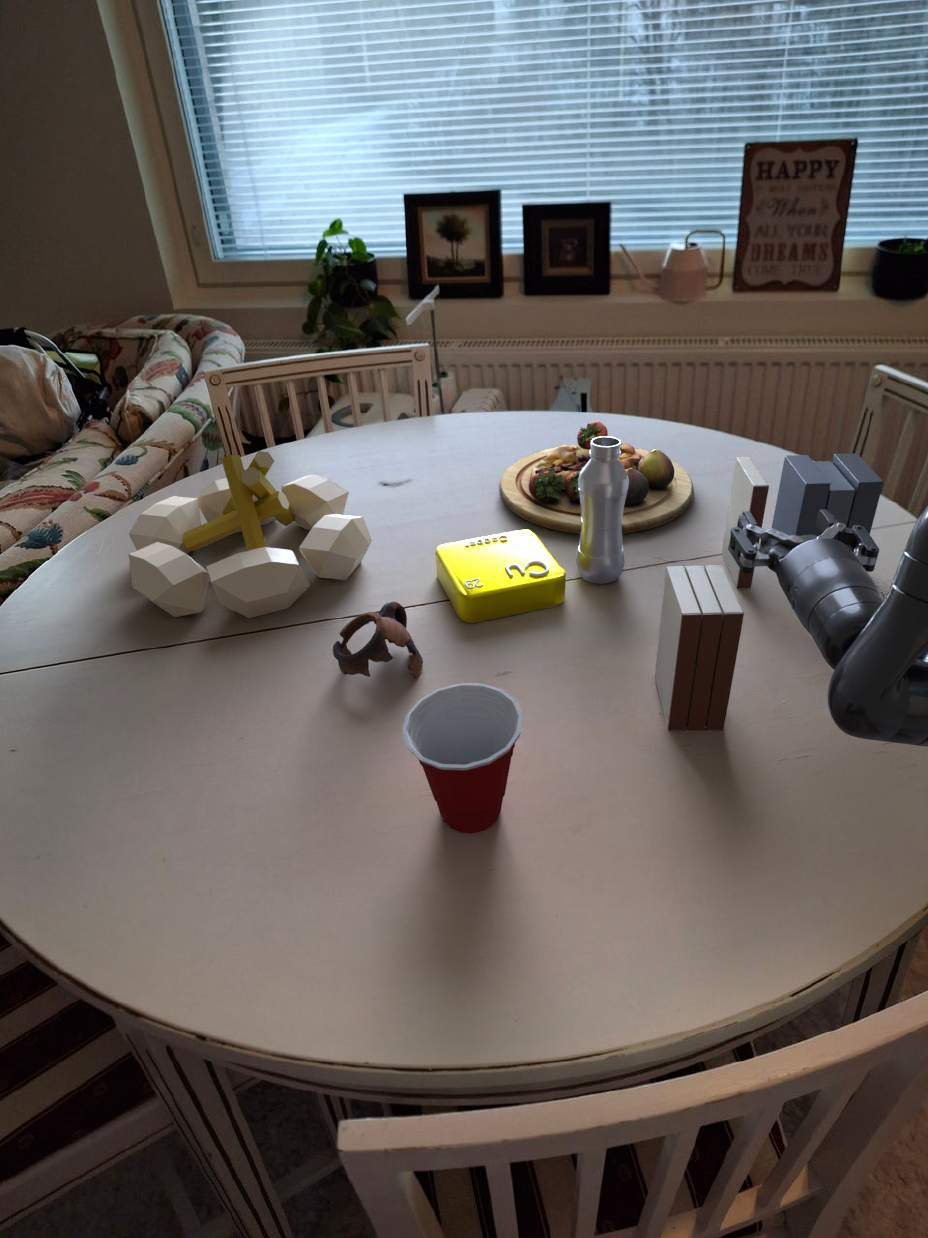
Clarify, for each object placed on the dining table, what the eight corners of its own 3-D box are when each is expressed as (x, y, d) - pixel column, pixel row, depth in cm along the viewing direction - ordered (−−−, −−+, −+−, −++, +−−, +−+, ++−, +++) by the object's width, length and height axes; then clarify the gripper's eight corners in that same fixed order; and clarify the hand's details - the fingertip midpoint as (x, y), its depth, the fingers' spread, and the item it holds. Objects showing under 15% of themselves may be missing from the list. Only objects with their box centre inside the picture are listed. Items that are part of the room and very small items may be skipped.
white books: (705, 676, 93) (722, 564, 85) (723, 730, 85) (744, 614, 77) (654, 677, 93) (666, 566, 85) (668, 731, 86) (682, 615, 77)
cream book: (734, 554, 116) (749, 456, 107) (750, 588, 108) (769, 486, 100) (721, 554, 116) (735, 456, 107) (737, 588, 108) (754, 486, 100)
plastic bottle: (618, 592, 109) (628, 453, 98) (569, 585, 111) (573, 448, 100) (627, 569, 114) (637, 434, 102) (580, 562, 116) (585, 430, 105)
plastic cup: (396, 795, 80) (383, 703, 73) (493, 759, 84) (489, 668, 77) (439, 874, 72) (429, 779, 65) (545, 831, 75) (545, 736, 69)
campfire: (397, 588, 112) (384, 476, 103) (146, 653, 102) (106, 536, 93) (332, 493, 139) (317, 397, 130) (129, 537, 130) (97, 436, 120)
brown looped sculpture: (420, 697, 93) (377, 655, 88) (358, 712, 98) (315, 673, 93) (440, 619, 101) (402, 577, 96) (382, 636, 106) (343, 597, 101)
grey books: (833, 551, 115) (857, 452, 106) (856, 584, 107) (883, 481, 99) (766, 553, 115) (784, 455, 107) (785, 586, 108) (806, 483, 100)
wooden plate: (531, 447, 152) (531, 405, 147) (705, 465, 141) (710, 420, 137) (471, 523, 127) (469, 475, 123) (675, 551, 117) (681, 499, 112)
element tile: (531, 552, 119) (531, 523, 116) (570, 604, 107) (571, 573, 104) (433, 571, 116) (431, 542, 113) (462, 626, 104) (460, 595, 101)
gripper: (915, 557, 76) (852, 485, 90) (762, 560, 77) (723, 488, 90) (894, 622, 80) (838, 545, 94) (750, 624, 81) (714, 547, 95)
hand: (782, 517), depth 92 cm, fingers open, 8 cm apart
